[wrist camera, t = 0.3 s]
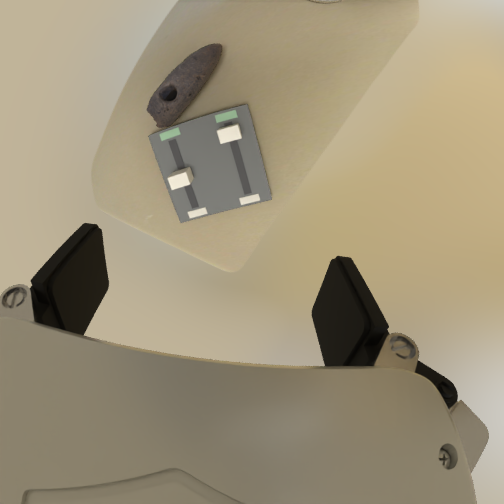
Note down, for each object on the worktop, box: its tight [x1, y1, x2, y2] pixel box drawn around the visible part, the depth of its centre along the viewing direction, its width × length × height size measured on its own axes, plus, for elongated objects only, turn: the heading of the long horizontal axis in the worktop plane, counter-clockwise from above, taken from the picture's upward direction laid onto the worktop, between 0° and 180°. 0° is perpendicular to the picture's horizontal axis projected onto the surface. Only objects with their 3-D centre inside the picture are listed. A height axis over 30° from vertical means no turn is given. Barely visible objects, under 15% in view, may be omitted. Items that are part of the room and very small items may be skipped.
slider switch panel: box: [148, 104, 272, 223], centre depth 42 cm, size 16×16×2 cm
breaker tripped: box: [167, 167, 194, 190], centre depth 39 cm, size 2×3×3 cm, turn 104°
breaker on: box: [217, 123, 242, 144], centre depth 36 cm, size 2×3×3 cm, turn 104°
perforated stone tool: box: [147, 44, 222, 128], centre depth 32 cm, size 15×5×7 cm, turn 138°
